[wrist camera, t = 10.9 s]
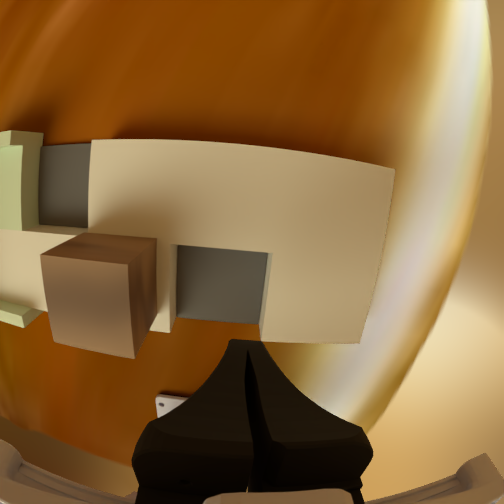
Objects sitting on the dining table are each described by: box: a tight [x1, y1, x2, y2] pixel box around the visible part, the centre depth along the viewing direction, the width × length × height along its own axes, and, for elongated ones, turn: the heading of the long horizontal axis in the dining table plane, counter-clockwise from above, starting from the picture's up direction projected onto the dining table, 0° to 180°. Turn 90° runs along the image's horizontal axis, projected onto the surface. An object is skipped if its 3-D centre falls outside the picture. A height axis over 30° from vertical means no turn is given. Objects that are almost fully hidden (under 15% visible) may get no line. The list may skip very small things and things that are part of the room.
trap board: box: [0, 130, 395, 344], centre depth 17 cm, size 14×31×5 cm, turn 84°
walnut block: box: [40, 232, 157, 359], centre depth 15 cm, size 5×5×5 cm
